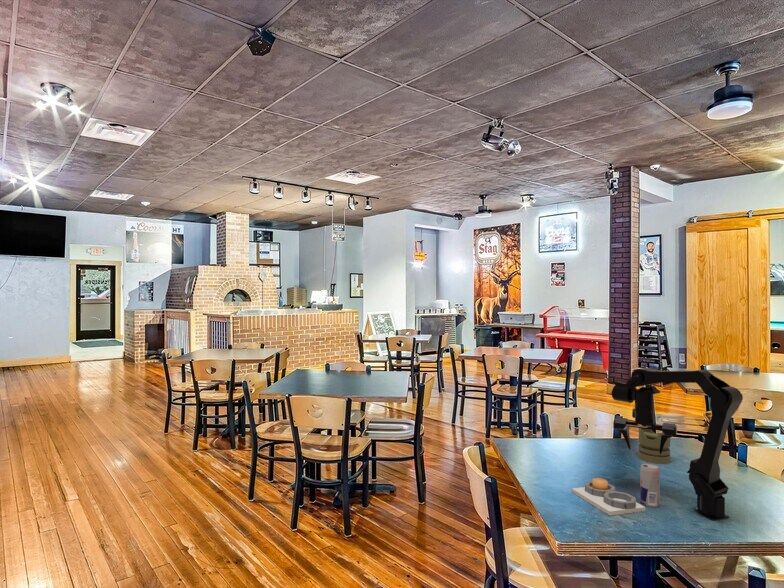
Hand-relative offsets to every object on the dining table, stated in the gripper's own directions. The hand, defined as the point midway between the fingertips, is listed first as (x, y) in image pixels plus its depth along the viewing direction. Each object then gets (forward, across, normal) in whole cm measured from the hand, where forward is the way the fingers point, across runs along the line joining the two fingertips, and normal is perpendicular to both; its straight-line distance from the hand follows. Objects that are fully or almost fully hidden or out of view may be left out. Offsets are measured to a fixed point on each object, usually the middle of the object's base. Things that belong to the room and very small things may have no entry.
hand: (644, 451), depth 160 cm
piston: (+13, +1, -40) cm, 42 cm away
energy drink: (+14, -2, +10) cm, 17 cm away
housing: (+13, +9, +16) cm, 23 cm away
